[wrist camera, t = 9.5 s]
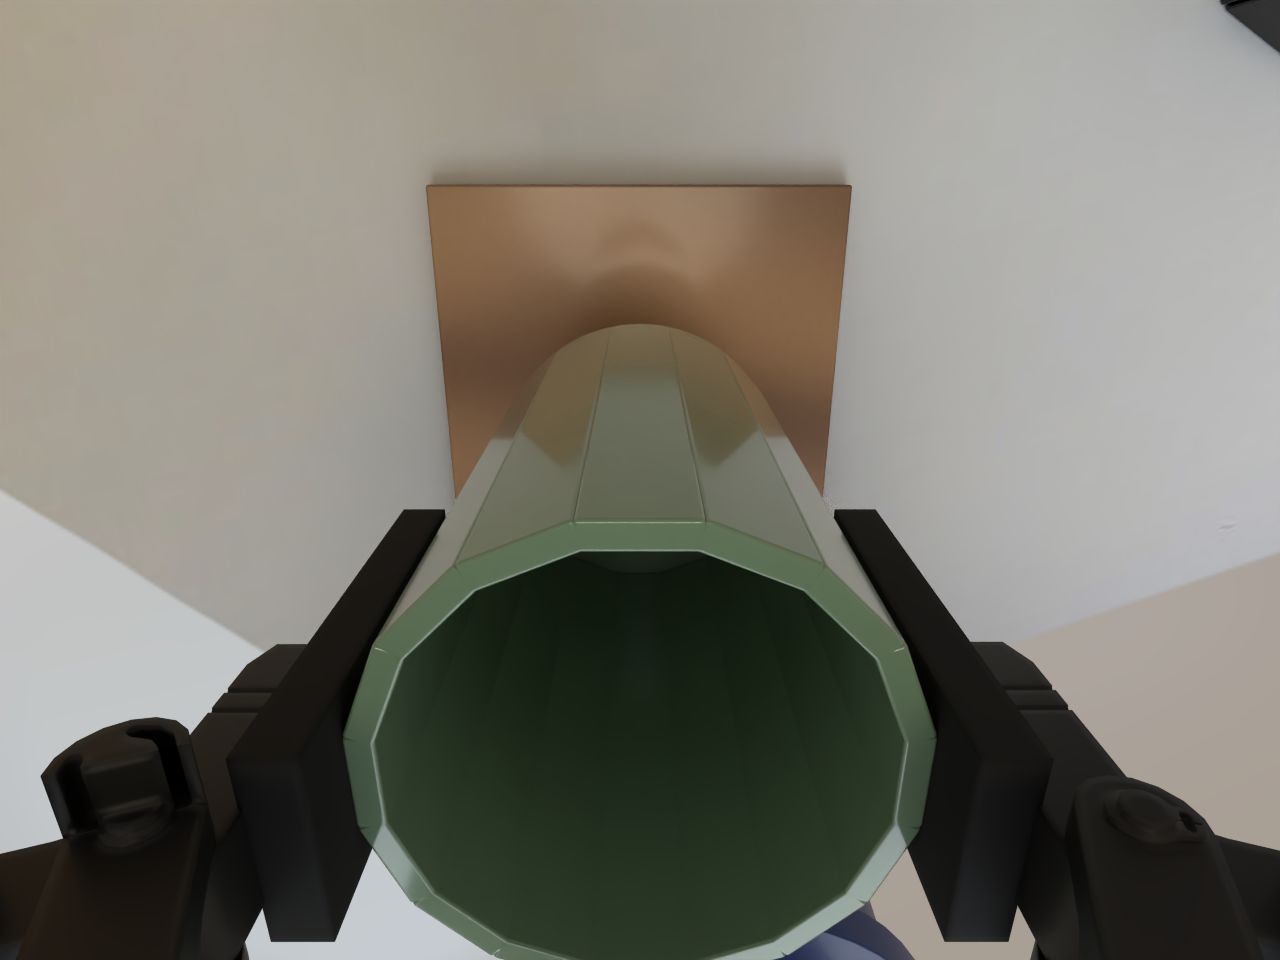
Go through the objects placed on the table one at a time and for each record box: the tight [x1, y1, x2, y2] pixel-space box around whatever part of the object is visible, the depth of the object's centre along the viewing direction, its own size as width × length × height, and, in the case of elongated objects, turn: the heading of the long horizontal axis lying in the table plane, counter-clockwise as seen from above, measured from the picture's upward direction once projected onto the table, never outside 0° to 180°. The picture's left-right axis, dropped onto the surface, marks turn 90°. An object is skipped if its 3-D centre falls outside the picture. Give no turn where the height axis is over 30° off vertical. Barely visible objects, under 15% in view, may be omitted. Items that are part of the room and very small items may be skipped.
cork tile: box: [426, 185, 852, 499], centre depth 28 cm, size 14×14×1 cm
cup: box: [342, 324, 937, 960], centre depth 15 cm, size 7×7×12 cm
